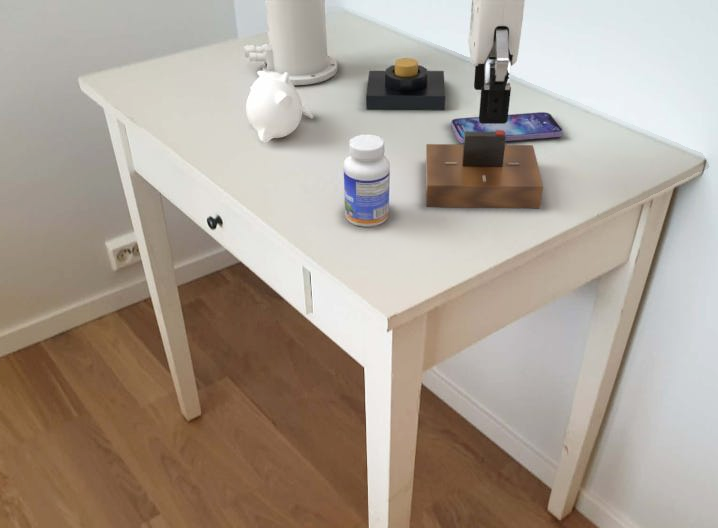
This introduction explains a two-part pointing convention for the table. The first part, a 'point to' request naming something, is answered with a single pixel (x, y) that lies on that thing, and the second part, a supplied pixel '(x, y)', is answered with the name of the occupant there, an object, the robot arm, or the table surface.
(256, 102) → the cat figurine
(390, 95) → the black stepped base
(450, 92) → the table surface
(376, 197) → the pill bottle
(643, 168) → the table surface
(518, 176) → the plate
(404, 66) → the bell button
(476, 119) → the smartphone
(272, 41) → the robot arm
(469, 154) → the lock knob
